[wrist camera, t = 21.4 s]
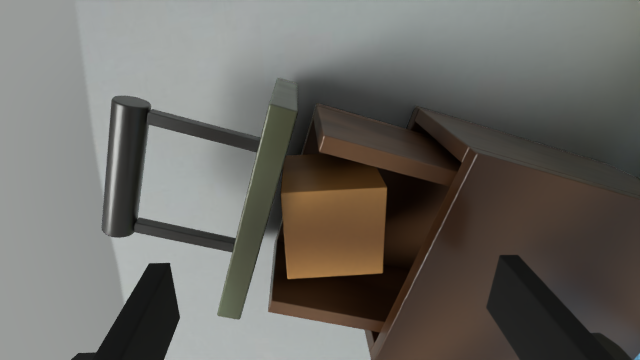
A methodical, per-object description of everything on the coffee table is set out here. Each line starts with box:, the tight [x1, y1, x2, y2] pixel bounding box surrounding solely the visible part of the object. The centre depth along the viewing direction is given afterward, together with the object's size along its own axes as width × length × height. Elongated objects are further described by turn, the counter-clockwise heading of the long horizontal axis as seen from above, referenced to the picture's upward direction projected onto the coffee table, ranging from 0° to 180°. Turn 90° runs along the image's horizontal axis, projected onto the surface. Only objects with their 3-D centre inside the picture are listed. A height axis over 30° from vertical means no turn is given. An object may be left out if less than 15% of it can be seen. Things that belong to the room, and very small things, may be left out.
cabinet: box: [365, 106, 640, 360], centre depth 22 cm, size 15×13×9 cm
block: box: [280, 154, 387, 279], centre depth 20 cm, size 5×5×5 cm
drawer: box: [102, 78, 462, 332], centre depth 20 cm, size 20×11×7 cm, turn 73°
